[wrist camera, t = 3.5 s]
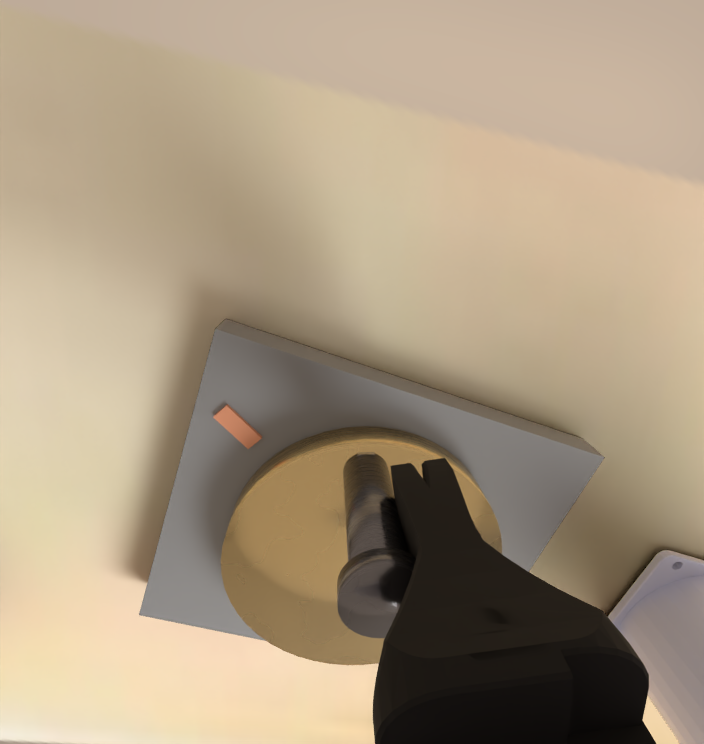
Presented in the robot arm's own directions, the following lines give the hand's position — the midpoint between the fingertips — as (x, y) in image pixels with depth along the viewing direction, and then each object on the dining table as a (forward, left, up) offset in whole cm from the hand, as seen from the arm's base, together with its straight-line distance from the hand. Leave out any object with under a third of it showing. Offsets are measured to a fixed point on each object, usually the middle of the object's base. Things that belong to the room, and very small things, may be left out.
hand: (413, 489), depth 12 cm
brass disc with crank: (-1, +5, -3) cm, 6 cm away
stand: (-1, +5, -5) cm, 7 cm away
